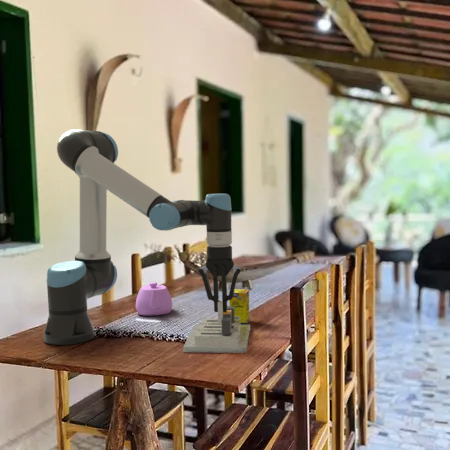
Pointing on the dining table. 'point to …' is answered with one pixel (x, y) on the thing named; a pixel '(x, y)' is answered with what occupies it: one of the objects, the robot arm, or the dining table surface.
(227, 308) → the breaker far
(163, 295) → the teapot
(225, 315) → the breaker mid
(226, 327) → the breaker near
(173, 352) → the dining table surface
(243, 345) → the panel
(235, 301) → the supplement box
